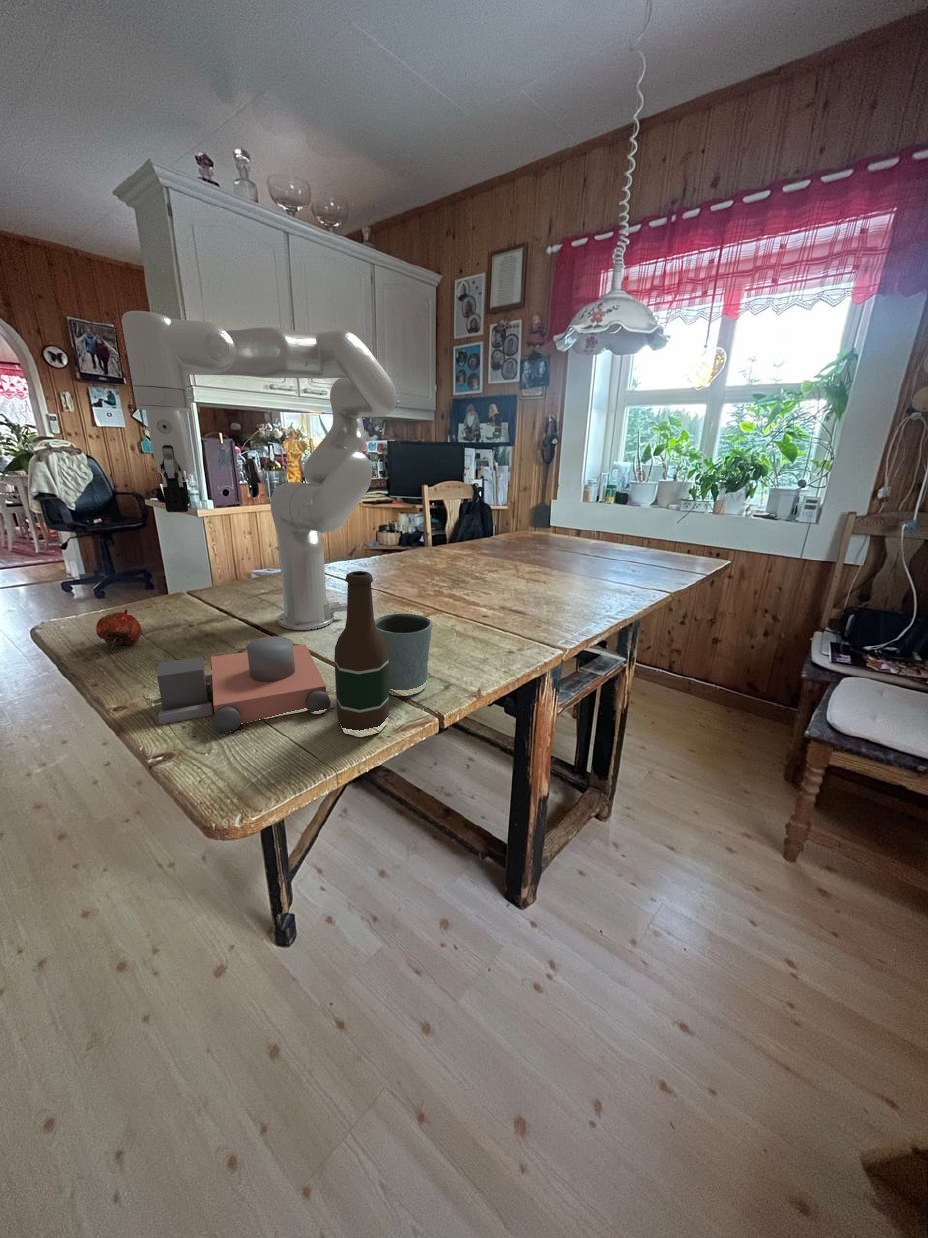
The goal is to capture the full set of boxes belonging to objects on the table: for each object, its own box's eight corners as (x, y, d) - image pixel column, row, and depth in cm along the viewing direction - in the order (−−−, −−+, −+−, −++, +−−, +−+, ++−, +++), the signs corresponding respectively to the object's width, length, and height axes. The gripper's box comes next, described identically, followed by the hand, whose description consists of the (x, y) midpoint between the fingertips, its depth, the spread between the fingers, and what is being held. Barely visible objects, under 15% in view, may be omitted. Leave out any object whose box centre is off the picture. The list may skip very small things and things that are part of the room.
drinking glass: (387, 704, 81) (387, 637, 76) (365, 678, 88) (363, 617, 84) (440, 690, 86) (442, 627, 82) (415, 668, 94) (415, 609, 90)
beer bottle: (341, 711, 78) (334, 565, 69) (390, 711, 78) (389, 566, 70) (333, 739, 70) (324, 580, 62) (387, 739, 71) (385, 581, 63)
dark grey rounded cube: (208, 695, 81) (202, 656, 78) (208, 709, 76) (202, 669, 74) (166, 702, 78) (159, 662, 76) (164, 717, 74) (156, 676, 71)
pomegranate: (137, 662, 95) (158, 619, 101) (110, 643, 89) (133, 599, 95) (104, 662, 96) (126, 620, 102) (75, 644, 90) (100, 600, 96)
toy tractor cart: (306, 659, 95) (303, 616, 92) (331, 712, 77) (328, 661, 74) (165, 680, 84) (157, 632, 81) (156, 747, 67) (145, 689, 64)
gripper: (187, 400, 73) (203, 514, 79) (189, 405, 88) (202, 501, 94) (128, 396, 70) (149, 515, 76) (140, 401, 84) (157, 501, 90)
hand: (178, 507), depth 85 cm, fingers open, 9 cm apart
